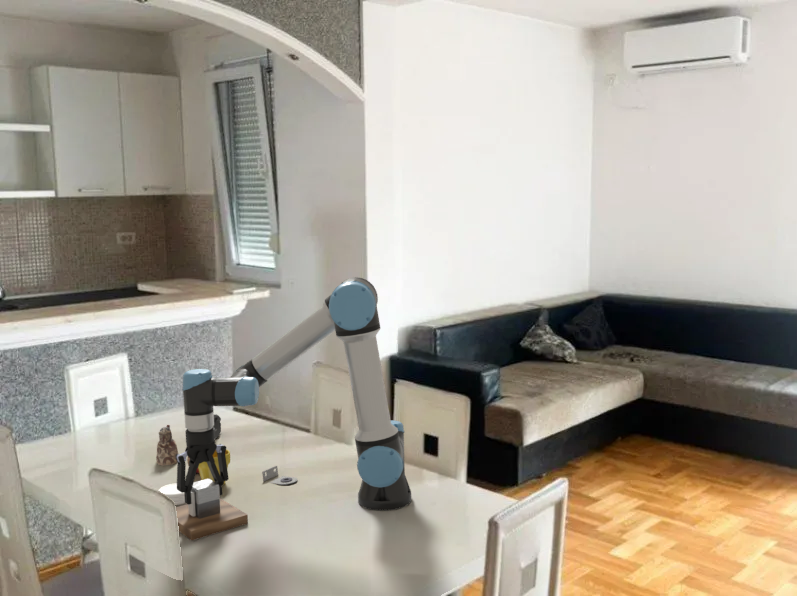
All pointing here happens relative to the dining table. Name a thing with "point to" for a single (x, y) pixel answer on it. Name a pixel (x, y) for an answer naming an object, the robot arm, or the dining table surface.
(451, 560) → the dining table surface
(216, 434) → the camera
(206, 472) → the plant pot
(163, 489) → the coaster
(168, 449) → the figurine
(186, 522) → the cutting board
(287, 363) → the robot arm
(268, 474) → the bracket
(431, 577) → the dining table surface
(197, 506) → the block
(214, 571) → the dining table surface
